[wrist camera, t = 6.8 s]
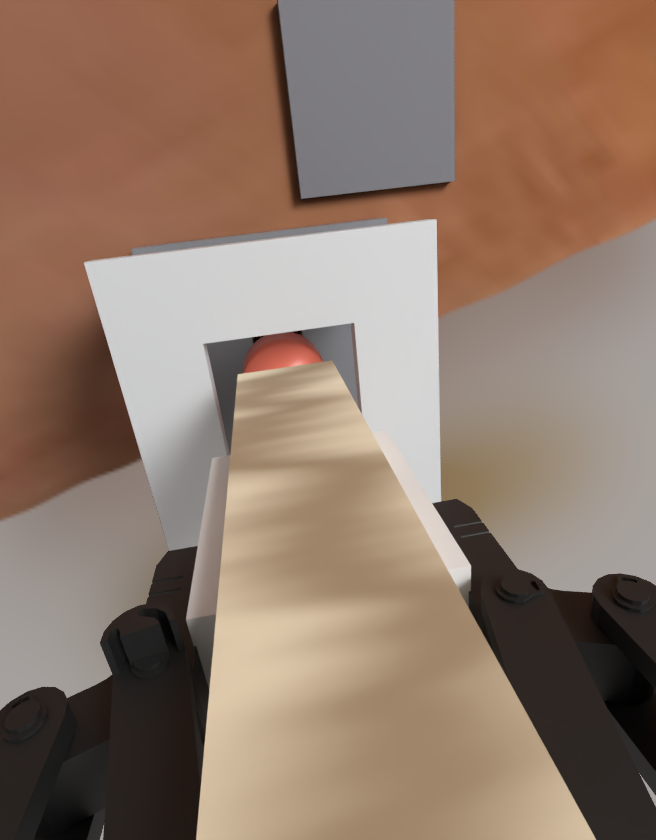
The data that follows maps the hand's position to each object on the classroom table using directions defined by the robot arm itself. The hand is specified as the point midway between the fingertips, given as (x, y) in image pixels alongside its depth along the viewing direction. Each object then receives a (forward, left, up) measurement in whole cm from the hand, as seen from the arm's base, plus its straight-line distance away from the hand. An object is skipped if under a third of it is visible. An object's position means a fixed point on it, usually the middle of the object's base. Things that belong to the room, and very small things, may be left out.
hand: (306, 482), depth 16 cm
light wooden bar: (0, 0, -6) cm, 6 cm away
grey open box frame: (0, 0, -17) cm, 17 cm away
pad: (+7, +13, -17) cm, 23 cm away
